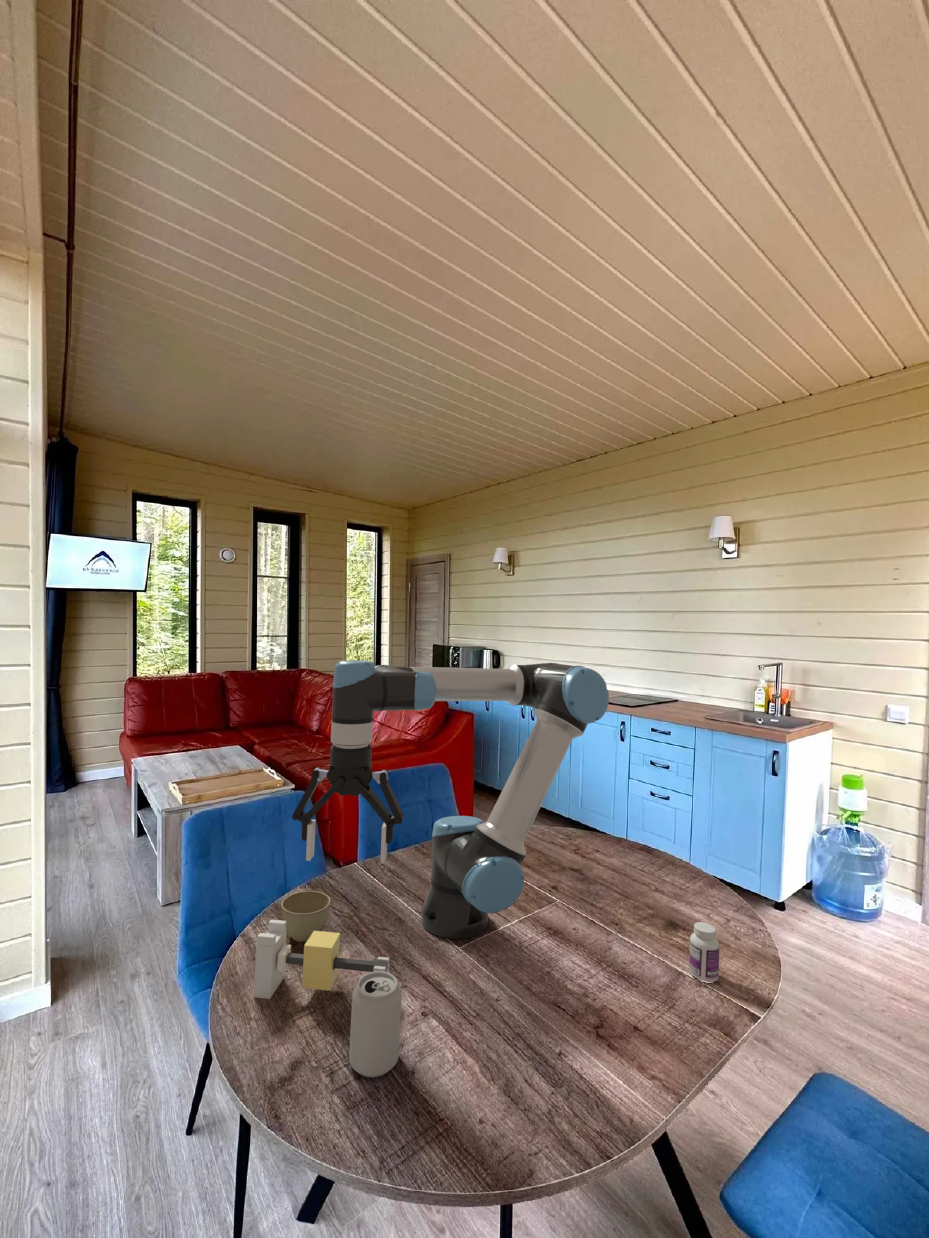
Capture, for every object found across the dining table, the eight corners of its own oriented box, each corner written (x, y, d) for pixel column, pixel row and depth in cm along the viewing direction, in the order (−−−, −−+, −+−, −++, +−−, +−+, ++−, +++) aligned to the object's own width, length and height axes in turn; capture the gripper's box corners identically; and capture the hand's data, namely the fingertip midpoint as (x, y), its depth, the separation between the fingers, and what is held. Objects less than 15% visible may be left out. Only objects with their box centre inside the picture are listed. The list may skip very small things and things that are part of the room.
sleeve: (338, 973, 101) (340, 932, 101) (329, 990, 96) (331, 947, 96) (312, 970, 101) (314, 930, 101) (302, 987, 96) (304, 945, 96)
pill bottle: (716, 971, 110) (718, 923, 110) (719, 987, 105) (721, 936, 105) (687, 964, 112) (689, 917, 112) (689, 980, 107) (691, 930, 107)
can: (352, 1043, 87) (355, 967, 87) (399, 1042, 87) (402, 966, 88) (345, 1082, 79) (349, 999, 80) (397, 1081, 80) (401, 998, 80)
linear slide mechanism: (389, 987, 100) (391, 929, 101) (381, 1010, 94) (384, 948, 95) (268, 975, 102) (271, 918, 103) (253, 997, 96) (256, 936, 97)
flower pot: (315, 952, 110) (317, 916, 110) (270, 944, 112) (272, 909, 112) (336, 926, 120) (337, 893, 120) (294, 919, 122) (296, 887, 122)
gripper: (420, 742, 105) (415, 852, 105) (290, 737, 105) (286, 848, 105) (416, 750, 98) (412, 870, 97) (277, 745, 97) (272, 865, 97)
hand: (346, 859), depth 101 cm, fingers open, 13 cm apart
